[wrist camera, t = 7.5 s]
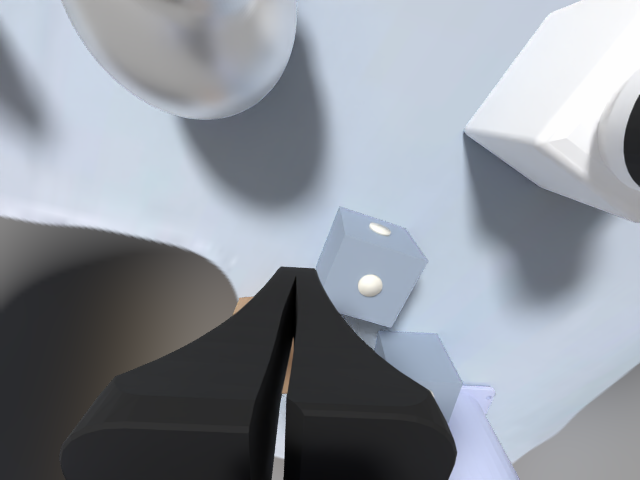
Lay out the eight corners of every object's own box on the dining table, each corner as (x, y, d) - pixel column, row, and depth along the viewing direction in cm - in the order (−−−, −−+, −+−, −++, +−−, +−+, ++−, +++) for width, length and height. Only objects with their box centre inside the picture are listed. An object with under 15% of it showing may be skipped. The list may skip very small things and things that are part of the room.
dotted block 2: (424, 376, 28) (446, 432, 23) (370, 373, 27) (380, 430, 23) (437, 333, 25) (464, 385, 21) (378, 330, 25) (392, 382, 21)
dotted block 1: (377, 284, 23) (391, 330, 19) (316, 266, 23) (315, 308, 18) (406, 225, 21) (431, 259, 17) (340, 203, 21) (346, 232, 16)
